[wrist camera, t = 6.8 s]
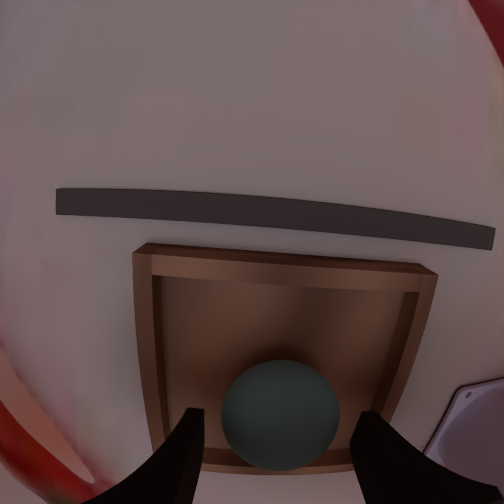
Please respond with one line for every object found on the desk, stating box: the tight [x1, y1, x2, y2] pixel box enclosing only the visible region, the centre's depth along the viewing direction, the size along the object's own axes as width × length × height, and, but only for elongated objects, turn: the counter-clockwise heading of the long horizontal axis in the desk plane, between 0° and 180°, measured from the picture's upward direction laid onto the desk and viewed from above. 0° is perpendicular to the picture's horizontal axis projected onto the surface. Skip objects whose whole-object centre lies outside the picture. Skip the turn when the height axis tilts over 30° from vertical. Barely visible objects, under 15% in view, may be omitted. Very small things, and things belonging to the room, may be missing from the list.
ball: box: [221, 360, 340, 471], centre depth 12 cm, size 5×5×5 cm
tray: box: [132, 243, 438, 475], centre depth 14 cm, size 13×13×2 cm
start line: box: [56, 189, 496, 251], centre depth 13 cm, size 22×1×1 cm, turn 85°
